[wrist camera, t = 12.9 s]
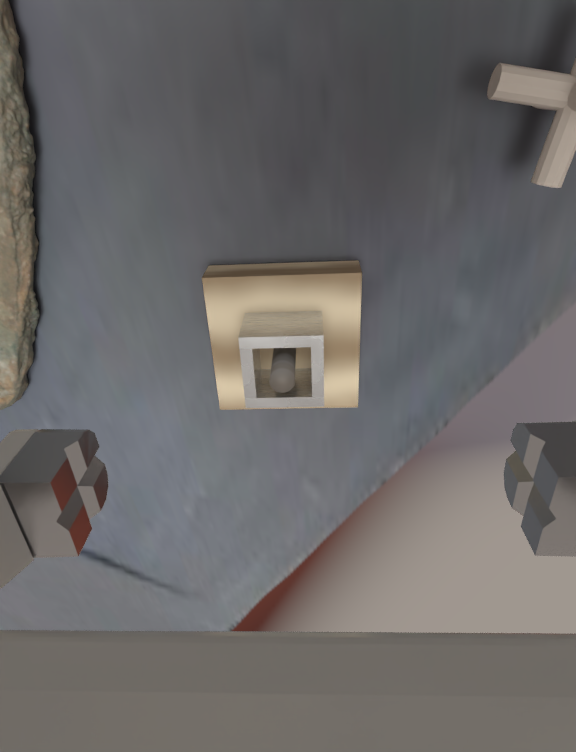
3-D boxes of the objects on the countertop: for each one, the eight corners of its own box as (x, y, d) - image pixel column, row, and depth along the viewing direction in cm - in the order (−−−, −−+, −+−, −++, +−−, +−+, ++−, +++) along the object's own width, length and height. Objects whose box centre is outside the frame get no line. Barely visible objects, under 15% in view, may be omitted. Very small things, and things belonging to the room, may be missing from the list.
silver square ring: (245, 312, 39) (238, 337, 35) (322, 310, 38) (323, 335, 35) (251, 378, 42) (245, 408, 38) (322, 377, 41) (324, 406, 38)
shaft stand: (208, 265, 40) (186, 306, 33) (358, 260, 39) (369, 300, 32) (225, 391, 46) (209, 449, 39) (355, 388, 45) (364, 447, 38)
